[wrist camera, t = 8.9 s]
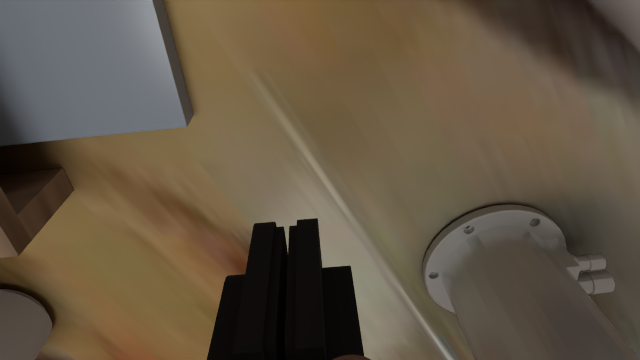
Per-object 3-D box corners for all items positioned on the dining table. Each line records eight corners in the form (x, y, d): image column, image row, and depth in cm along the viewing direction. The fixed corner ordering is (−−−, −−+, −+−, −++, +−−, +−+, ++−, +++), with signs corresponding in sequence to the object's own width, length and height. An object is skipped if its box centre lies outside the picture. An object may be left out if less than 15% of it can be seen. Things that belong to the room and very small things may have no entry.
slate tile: (148, -65, 24) (134, -64, 22) (194, 112, 30) (187, 126, 28) (-160, -33, 24) (-204, -29, 22) (-55, 138, 30) (-82, 154, 28)
